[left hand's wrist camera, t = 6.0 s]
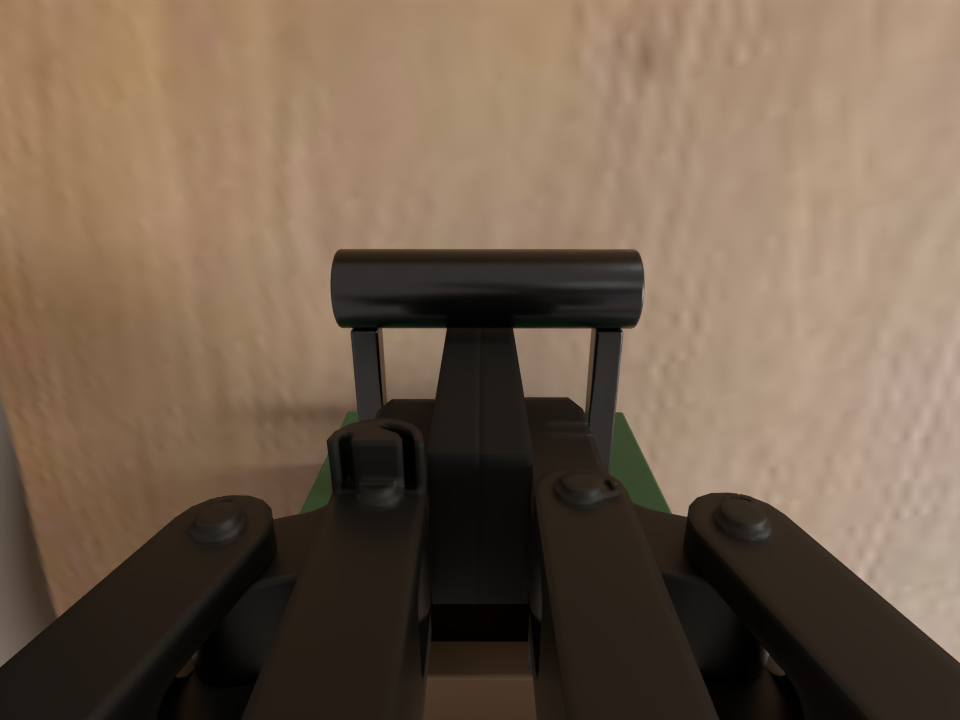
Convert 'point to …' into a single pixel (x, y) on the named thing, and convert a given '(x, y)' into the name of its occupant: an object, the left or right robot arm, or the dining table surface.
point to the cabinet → (479, 681)
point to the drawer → (496, 304)
